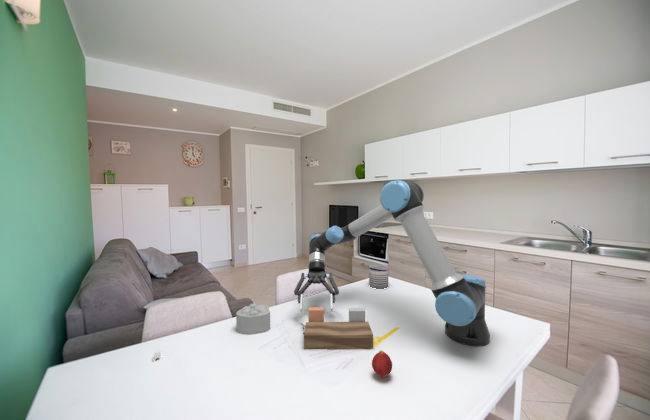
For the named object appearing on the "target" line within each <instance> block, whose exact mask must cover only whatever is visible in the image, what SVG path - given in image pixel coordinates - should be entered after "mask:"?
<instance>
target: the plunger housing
mask: <svg viewBox="0 0 650 420" xmlns="http://www.w3.org/2000/svg"><path fill="white" fill-rule="evenodd" d="M304 349H327V350H374V333H373V331H372V329H371V325H370V323H369V321H365V322H349V321H324V322H309V321H306V322H305V324H304V333H303V350H304Z"/></svg>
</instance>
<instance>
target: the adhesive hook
mask: <svg viewBox="0 0 650 420" xmlns="http://www.w3.org/2000/svg"><path fill="white" fill-rule="evenodd" d="M162 352H163V349H161V350H158V351H155V352H154V353H153V356H152V358H151V360H152V363H154V362H156V360H157V359H158V360H159V361H160V360H162V359H163V355H162V354H161V353H162Z"/></svg>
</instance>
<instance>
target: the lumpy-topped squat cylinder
mask: <svg viewBox="0 0 650 420" xmlns="http://www.w3.org/2000/svg"><path fill="white" fill-rule="evenodd" d="M235 316H236V317H235V319H236V320H235V321H236V323H235V325H236V327H235V328H236V332H237V333H238V334H241V335H246V336H247V335H248V336H251V335H257V334H263V333H267V332H269V331H270V330H271V311H270V306H269V305H266V304H257V303H255V302H254V303H251V304H249V305H246V306H243V307H242V308H241V309H239V310H238V311H236V313H235Z"/></svg>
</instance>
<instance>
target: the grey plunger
mask: <svg viewBox="0 0 650 420" xmlns="http://www.w3.org/2000/svg"><path fill="white" fill-rule="evenodd" d="M348 322H366V310H365V307H349V308H348Z"/></svg>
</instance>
